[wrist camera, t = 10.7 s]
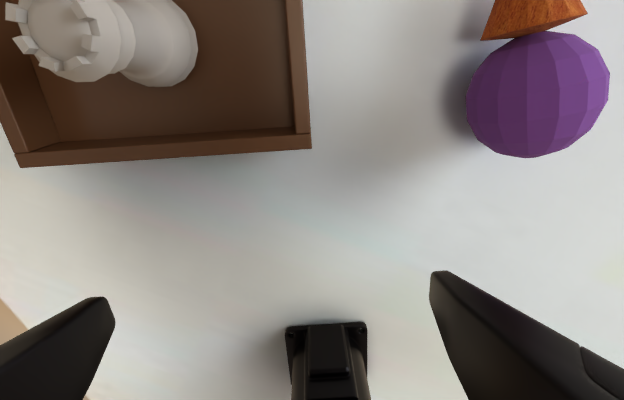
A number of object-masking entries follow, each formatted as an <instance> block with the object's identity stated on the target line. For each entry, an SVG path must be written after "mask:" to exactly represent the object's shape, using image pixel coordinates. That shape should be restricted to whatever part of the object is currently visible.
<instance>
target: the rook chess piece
mask: <svg viewBox="0 0 624 400" xmlns="http://www.w3.org/2000/svg"><path fill="white" fill-rule="evenodd" d="M5 20H9V21H14V22H18V24H19V27H20V30H21V33H22V36H17V37H14V38H12V39H13V40H14V42H15V43H16V44H17V46H18V47H19V48H20V50H21V51H22V53H23V54H34V55H35V57H36V58H37V59H38V61H39V62H40V63H39V66H41V67H44V68H47V69H49V70H51V71H52V72H53V73H54V74H56V75H57V76H60V77H63V78H66V79H69V80H71V81H74V82H94V81H96V80H98V79H100V78H102V77H104V76H106V75H107V74H115V73H116V72H118V71H119V72H121V73H122V74H123V75H124V76H125V77H127V78H128V79H129V80H131V81H134V82H137V83H140V84H142V85H145V86H148V87H153V86H154V87H167V86H173V85H175V84H177V83H179V82H181V81H183V80H185V79H186V77H187V76H188V75H189V73H190V72H191V71H192V69H193V68H194V66H195V62H196V57H197V53H198V46H197V39H196V33H195V30H194V28H193V26H192V24H191V22H190V20H189V18H188V17H187V15H186V13H185V12H184V11H183V10H182V9H181V8H179V7H178V6H177V5H176V4H175V3H174V2H173V1H172V0H19V2H18V5H17V4H12V3H7V2H6V11H5Z"/></svg>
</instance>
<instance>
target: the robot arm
mask: <svg viewBox="0 0 624 400" xmlns="http://www.w3.org/2000/svg"><path fill="white" fill-rule="evenodd" d="M429 300H430V305H431V308H432V311H433V314H434V316H435V319H436V322H437V325H438V328H439V331H440V334H441V337H442V340H443V342H444V345H445V348H446V351H447V354H448V356H449V359H450V361H451V363H452V365H453V368H454V370H455V372H456V374H457V376H458V378H459V380H460V382H461V384H462V386H463V389H464V391H465V393H466V395H467V397H468V399H469V400H624V369H623V368H621V367H619V366H617V365H615V364H613V363H612V362H610V361H608V360H606V359H604V358H602V357H601V356H599V355H597V354H595V353H593V352H592V351H590V350H588V349H586V348H585V347H580V346H579V344H577V343H575V342H574V341H572V340H570V339H568V338H567V337H565V336H563V335H561V334H559V333H558V332H556V331H554V330H552V329H551V328H549V327H547V326H545V325H543V324H542V323H540V322H538V321H536V320H535V319H533V318H531V317H529V316H527V315H526V314H524V313H522V312H520V311H518V310H517V309H515V308H513V307H511V306H510V305H508V304H506V303H504V302H502V301H501V300H499V299H497V298H495V297H494V296H492V295H490V294H488V293H486V292H485V291H483V290H481V289H479V288H478V287H476V286H474V285H472V284H470V283H469V282H467V281H465V280H463V279H462V278H460V277H458V276H456V275H454V274H453V273H451V272H449V271H434V272H433V273H432V274H431V279H430V292H429ZM114 328H115V318H114V316H113V313H112V311H111V308H110V305H109V303H108V301H107V299H106V298H105V297H90V298H87V299H85V300H83V301H81V302H79V303H77V304H75V305H74V306H72V307H70V308H68V309H66V310H64V311H63V312H61V313H59V314H57V315H55V316H53V317H52V318H50V319H48V320H46V321H44V322H42V323H41V324H39V325H37V326H35V327H33V328H31V329H30V330H28V331H26V332H24V333H22V334H20V335H19V336H17V337H15V338H13V339H11V340H9V341H8V342H6V343H4V344H2V345H0V400H83V398H84V396H85V394H86V392H87V390H88V388H89V386H90V384H91V382H92V380H93V378H94V376H95V373H96V371H97V369H98V366H99V364H100V362H101V359H102V357H103V354H104V352H105V350H106V347H107V345H108V343H109V340H110V338H111V336H112V333H113V331H114ZM360 328H362V329H360ZM290 333H293V334H290ZM285 340H286V348H287V356H288V364H289V372H290V380H291V385H292V393H291V400H371V397H370V392H369V386H368V381H367V327H366V324H365V323H363V322H355V323H339V324H323V325H307V326H292V327H288V328H286V330H285Z"/></svg>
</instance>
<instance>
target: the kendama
mask: <svg viewBox="0 0 624 400" xmlns="http://www.w3.org/2000/svg"><path fill="white" fill-rule="evenodd" d="M586 14H588V13H587V11H586V10H585V8H584V6H583V4H582V3H581V1H580V0H495V3H494V5H493V8H492V11H491V13H490V16H489V19H488V21H487V24H486V27H485V29H484V32H483V35H482V37H481V40H480V41H482V40H496V39H509V38H514V39H513V40H511V41H510V42H508V43H506V44H505V45H503V46H502V47H500V48H498V49H497V50H495V51H494V52H492V53H490V55H489V56H488V57H487V58H486V59H485V61H484V62H483V63H482V64H481V65H480V67H479V68H478V69H477V70H476V71H475V73H474V74H473V76H472V79H471V82H470V85H469V88H468V91H467V94H466V96H465V97H466V112H467V121H468V123H469V125H470V127H471V129H472V130H473V132H474V134H475V136H476V138H477V139H478V140H479V141H480V142H482V143H483V144H484V145H486V146H487V147H489V148H490V149H492V150H493V151H494V152H496V153H499V154H503V155H509V156H514V157H520V158H534V157H539V156H543V155H546V154H550V153H553V152H556V151H559V150H562V149H565V148H567V147H569V146H570V145H571V144H573V143H574V142H575V141H577V140H578V139H579V138H580V137H582V136H583V135H584V134H585V133H587V132H588V131H589V130H590V129H591V128H592V127H593V125H594V123H595V122H596V120H597V118H598V116H599V115H600V113H601V111H602V109H603V108H604V106H605V104H606V103H607V101H608V92H609V78H610V72H609V70H608V68H607V66H606V65H605V63H604V61H603V59H602V57H601V55H600V53H599V51H598V49H596V48H595V47H593V46H592V45H590V44H588V43H587V42H585V41H584V40H582V39H581V38H579V37H577V36H576V35H573V34H565V33H558V32H550V31H546V30H548V29H551V28H553V27H556V26H558V25H561V24H563V23H566V22H569V21H571V20H574V19H576V18H579V17H581V16H584V15H586Z"/></svg>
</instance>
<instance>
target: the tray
mask: <svg viewBox="0 0 624 400" xmlns="http://www.w3.org/2000/svg"><path fill="white" fill-rule="evenodd" d="M172 1H173V2H174V3H175V4H176V5H177V6H178V7H179V8H181V9H182V10H183V11H184V12H185V13H186V15H187V17H188V18H189V20H190V22H191V24H192V26H193V28H194V30H195V33H196V39H197V46H198V53H197V57H196V62H195V66H194V68H193V69H192V71H191V72H190V73H189V75H188V76H187V77H186V79H185V80H183V81H181V82H179V83H177V84H175V85H173V86H167V87H154V86H153V87H148V86H145V85H142V84H140V83H137V82H134V81H131V80H129V79H128V78H127V77H125V76H124V75H123V74H122V73H121V72H119V71H118V72H116V73H115V74H107V75H106V76H104V77H102V78H100V79H98V80H96V81H94V82H74V81H71V80H69V79H66V78H63V77H60V76H57V75H56V74H54V73H53V72H52V71H51V70H49V69H47V68H44V67H41V66H39V63H40V62H39V61H38V59H37V58H36V57H35V55H34V54H23V53H22V51H21V50H20V48H19V47H18V46H17V44H16V43H15V42H14V40H13V39H12V38H14V37H17V36H22V33H21V30H20V27H19V24H18V22H14V21H9V20H5V11H6V2H7V3H12V4H17V5H18V2H19V0H0V122H1V124H2V127H3V129H4V131H5V134H6V136H7V138H8V141H9V143H10V145H11V147H12V150H13V152H14V153H15V154H14V155H15V157H16V160H17V162H18V164H19V166H20V168H29V167H44V166H59V165H74V164H89V163H104V162H119V161H134V160H149V159H164V158H179V157H194V156H209V155H224V154H239V153H254V152H269V151H284V150H299V149H311V148H312V143H311V127H310V112H309V96H308V81H307V65H306V49H305V34H304V18H303V2H302V0H172Z"/></svg>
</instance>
